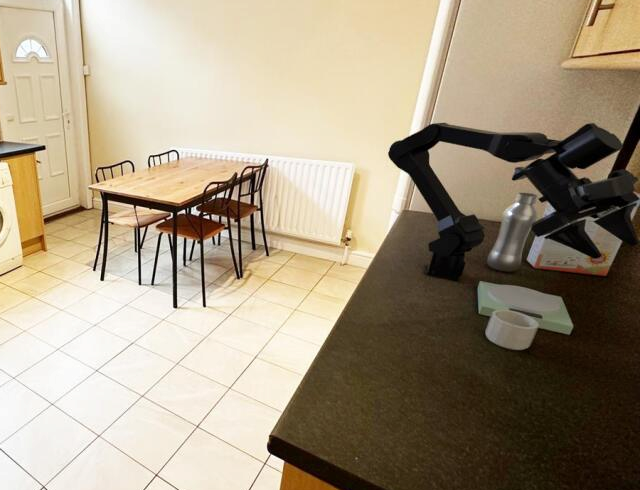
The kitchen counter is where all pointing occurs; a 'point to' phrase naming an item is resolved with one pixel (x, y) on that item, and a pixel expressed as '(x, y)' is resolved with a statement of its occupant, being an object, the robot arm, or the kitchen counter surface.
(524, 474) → the kitchen counter surface
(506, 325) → the bowl
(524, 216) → the silver metal bottle
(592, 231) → the cracker box
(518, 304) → the scale
